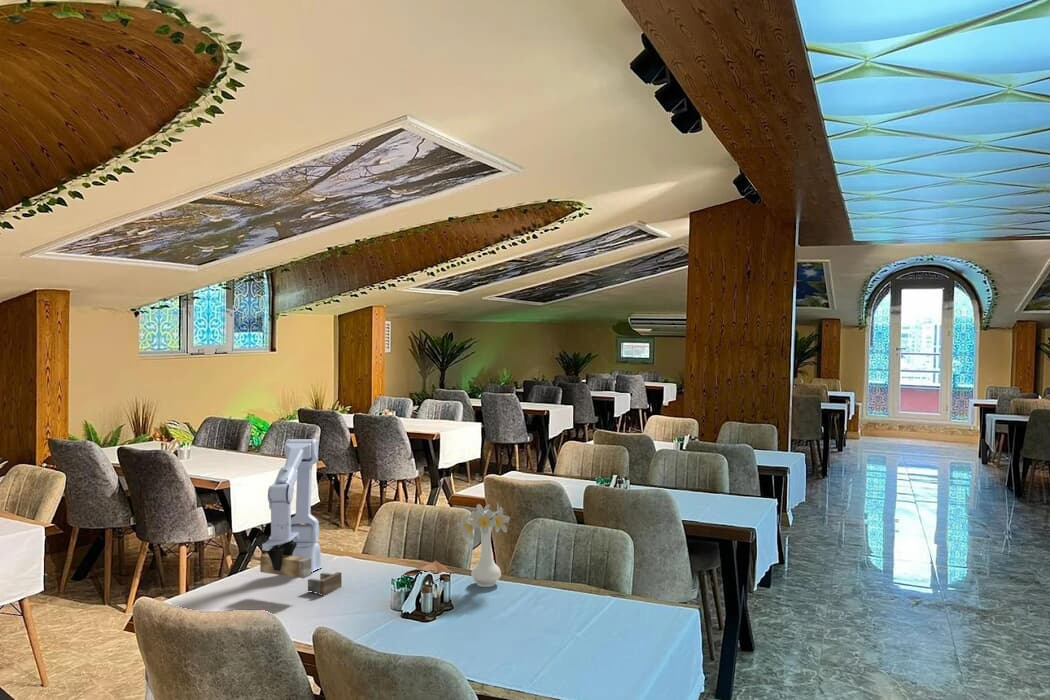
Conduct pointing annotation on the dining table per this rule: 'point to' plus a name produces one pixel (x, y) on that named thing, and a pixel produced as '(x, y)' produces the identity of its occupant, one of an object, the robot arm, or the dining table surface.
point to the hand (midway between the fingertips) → (281, 568)
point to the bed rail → (287, 566)
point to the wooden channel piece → (325, 583)
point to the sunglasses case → (429, 569)
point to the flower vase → (485, 542)
